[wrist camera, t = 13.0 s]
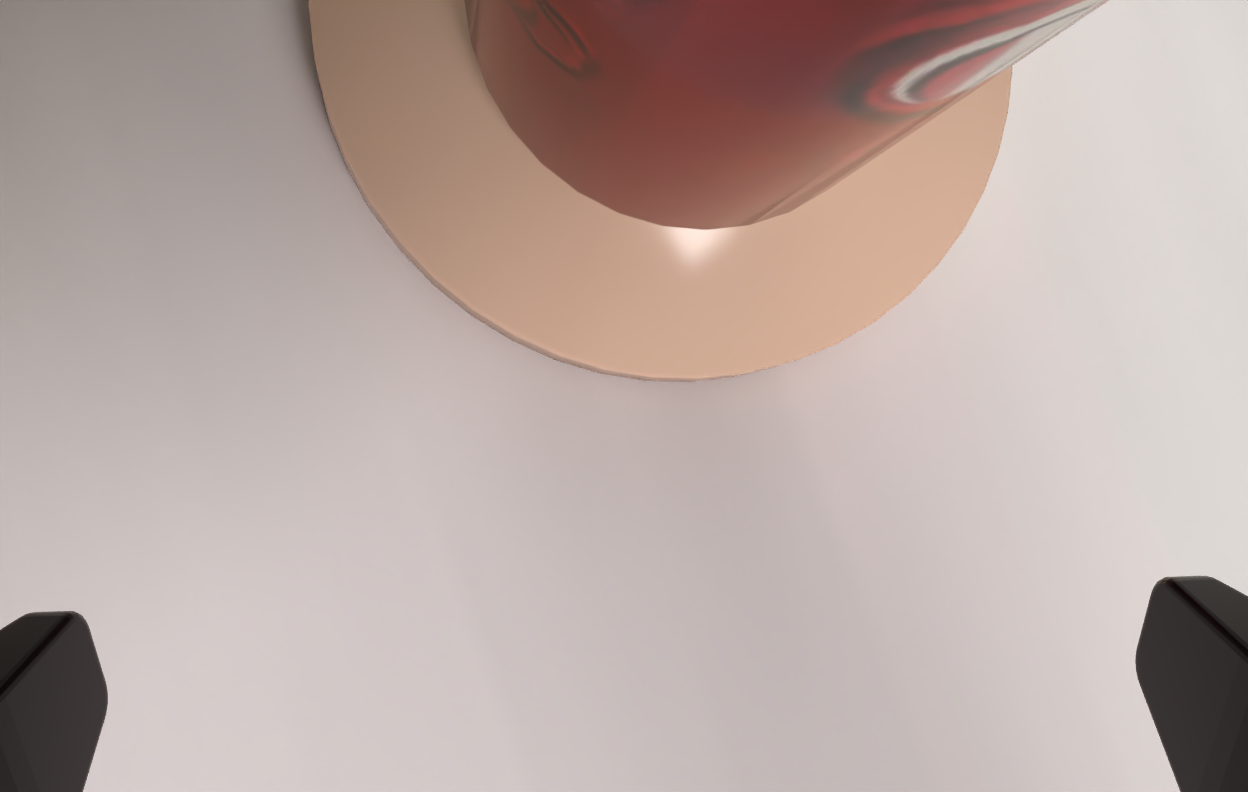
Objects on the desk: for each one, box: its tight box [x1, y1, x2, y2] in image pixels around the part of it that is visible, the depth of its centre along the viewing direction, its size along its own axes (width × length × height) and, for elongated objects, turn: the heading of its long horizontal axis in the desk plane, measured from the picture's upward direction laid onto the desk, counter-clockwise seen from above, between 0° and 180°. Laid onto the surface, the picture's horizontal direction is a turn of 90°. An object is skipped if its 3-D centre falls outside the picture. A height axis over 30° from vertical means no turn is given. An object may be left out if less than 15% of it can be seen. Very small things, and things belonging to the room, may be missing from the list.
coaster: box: [308, 0, 1012, 382], centre depth 19 cm, size 12×12×1 cm
